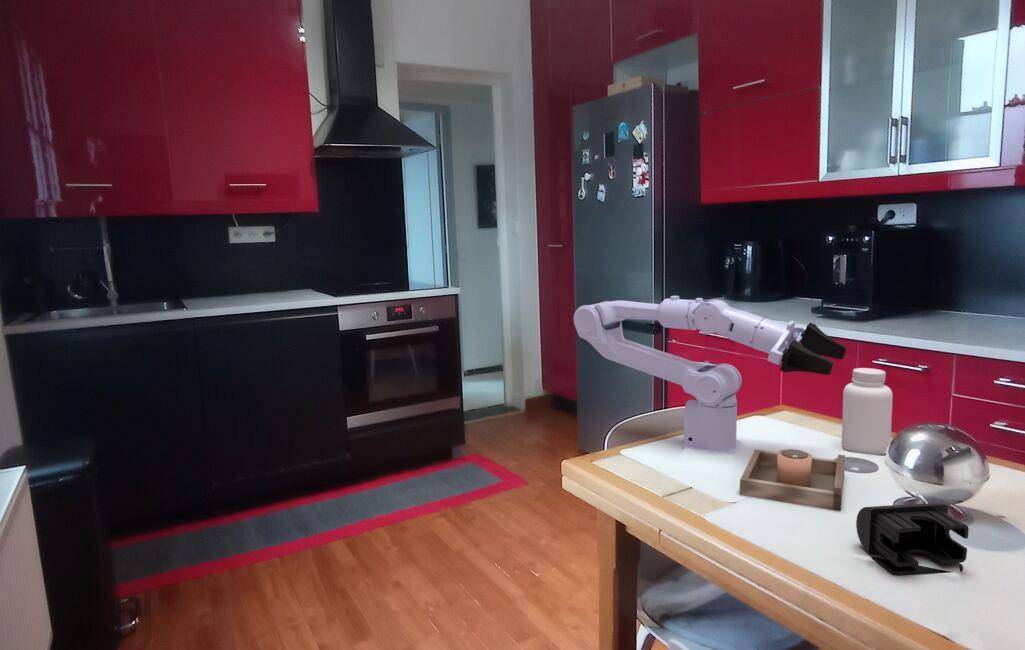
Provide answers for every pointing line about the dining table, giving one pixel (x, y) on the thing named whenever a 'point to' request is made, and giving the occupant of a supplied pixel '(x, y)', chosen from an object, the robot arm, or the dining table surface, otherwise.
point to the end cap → (911, 536)
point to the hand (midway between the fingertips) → (838, 361)
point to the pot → (794, 467)
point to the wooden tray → (821, 494)
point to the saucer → (859, 465)
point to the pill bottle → (867, 413)
